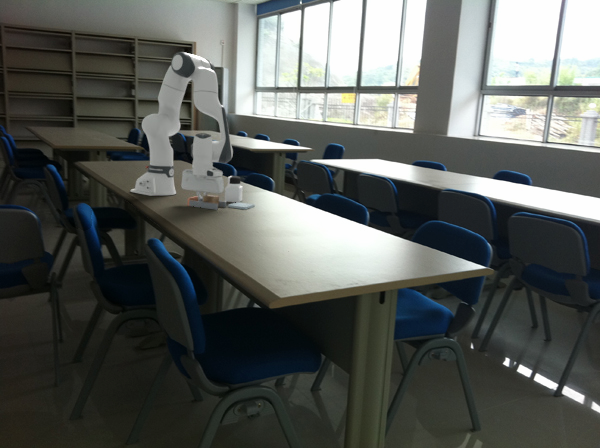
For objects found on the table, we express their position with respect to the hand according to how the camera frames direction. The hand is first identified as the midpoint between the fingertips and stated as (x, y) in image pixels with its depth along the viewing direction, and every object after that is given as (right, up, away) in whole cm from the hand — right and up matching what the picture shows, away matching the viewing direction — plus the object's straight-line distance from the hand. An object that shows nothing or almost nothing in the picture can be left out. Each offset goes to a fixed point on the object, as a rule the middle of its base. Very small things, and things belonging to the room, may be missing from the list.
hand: (201, 201), depth 234 cm
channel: (+3, -2, -1) cm, 4 cm away
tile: (+17, -2, +4) cm, 18 cm away
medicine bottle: (+12, +1, +17) cm, 21 cm away
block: (+4, -3, -1) cm, 5 cm away
